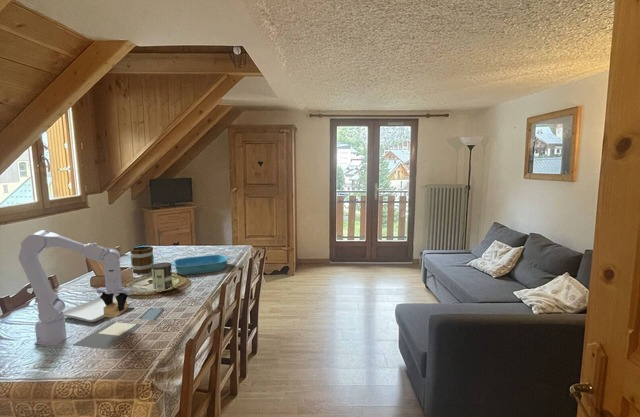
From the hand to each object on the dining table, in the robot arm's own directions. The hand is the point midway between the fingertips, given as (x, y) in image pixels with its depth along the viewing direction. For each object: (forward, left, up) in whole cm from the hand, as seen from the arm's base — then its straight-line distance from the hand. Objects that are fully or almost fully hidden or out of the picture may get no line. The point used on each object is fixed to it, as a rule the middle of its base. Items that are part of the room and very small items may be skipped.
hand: (116, 309), depth 142 cm
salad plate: (-22, +13, -10) cm, 27 cm away
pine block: (0, 0, -1) cm, 1 cm away
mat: (0, -4, -9) cm, 10 cm away
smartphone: (+5, +14, -10) cm, 18 cm away
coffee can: (-11, +46, -9) cm, 48 cm away
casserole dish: (-8, +83, -9) cm, 84 cm away
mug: (-47, +77, -9) cm, 91 cm away
